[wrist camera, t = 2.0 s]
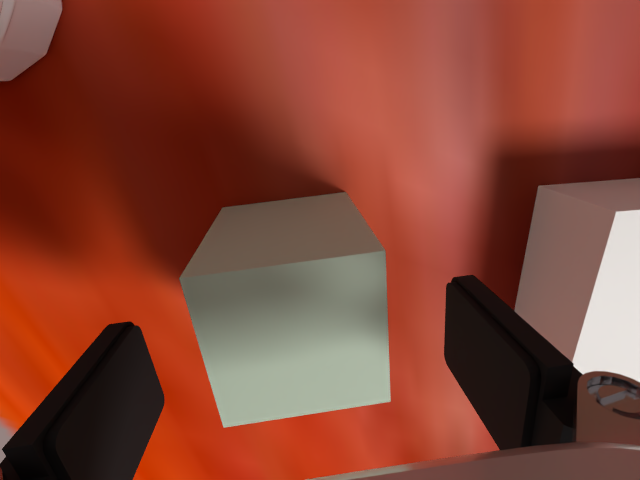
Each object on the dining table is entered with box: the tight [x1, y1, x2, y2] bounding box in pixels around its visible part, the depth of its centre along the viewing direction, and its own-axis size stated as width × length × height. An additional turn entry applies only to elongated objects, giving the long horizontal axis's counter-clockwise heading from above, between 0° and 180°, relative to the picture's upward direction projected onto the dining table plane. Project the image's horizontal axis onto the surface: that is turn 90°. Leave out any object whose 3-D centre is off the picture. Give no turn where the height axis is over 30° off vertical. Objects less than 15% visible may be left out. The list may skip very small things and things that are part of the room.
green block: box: [179, 192, 391, 427], centre depth 12 cm, size 5×5×6 cm
